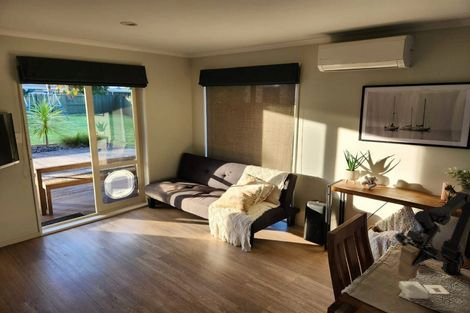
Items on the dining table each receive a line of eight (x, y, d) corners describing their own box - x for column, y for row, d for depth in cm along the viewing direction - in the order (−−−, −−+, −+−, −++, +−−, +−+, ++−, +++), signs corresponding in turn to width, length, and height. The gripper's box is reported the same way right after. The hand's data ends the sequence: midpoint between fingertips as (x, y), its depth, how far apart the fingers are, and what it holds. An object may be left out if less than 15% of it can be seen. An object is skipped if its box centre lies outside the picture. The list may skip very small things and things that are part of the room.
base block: (416, 287, 134) (417, 281, 133) (427, 299, 126) (428, 292, 125) (398, 287, 134) (399, 281, 133) (408, 298, 126) (409, 292, 125)
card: (440, 285, 134) (440, 284, 134) (449, 294, 128) (449, 293, 128) (422, 285, 135) (422, 284, 134) (430, 294, 129) (430, 293, 129)
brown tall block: (405, 270, 135) (409, 244, 132) (416, 277, 130) (420, 249, 128) (398, 273, 133) (401, 246, 130) (408, 279, 128) (412, 252, 126)
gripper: (399, 216, 137) (380, 243, 135) (441, 232, 120) (420, 263, 118) (409, 229, 142) (391, 255, 139) (451, 246, 125) (430, 277, 123)
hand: (406, 262), depth 130 cm, fingers closed on brown tall block, 5 cm apart
